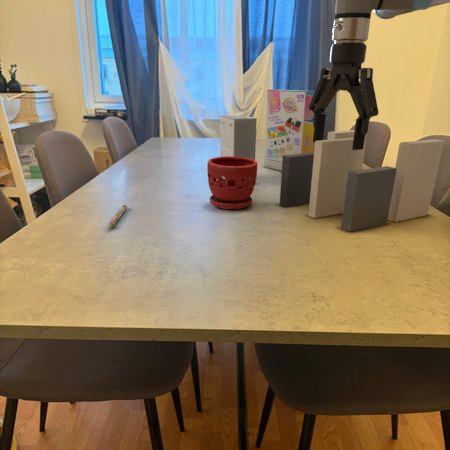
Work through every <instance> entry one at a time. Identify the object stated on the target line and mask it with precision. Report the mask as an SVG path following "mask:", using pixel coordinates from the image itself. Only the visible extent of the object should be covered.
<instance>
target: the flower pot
mask: <svg viewBox="0 0 450 450" xmlns="http://www.w3.org/2000/svg"><path fill="white" fill-rule="evenodd" d="M206 168H207V184H208V187H209V191H210V192H211V194H212V195H211V196H209V202H210V203H211V205H213V206H214V207H216V208H218V209H219V208H220V209H223V210H240V209H244V208H245V209H246V208H247V207H249V206H250V205H251V204H252V203H253V198H252V194H253V192H254V189H255V186H256V182H257V176H258V161H256V159H255V160H253V159H249V158H244V157H231V156H225V157H221V156H216V157H212V158H210V159H208V160H207V167H206ZM222 176H223V177H224V178H225V179H224V178H223V177H222ZM250 178H251V179H250Z"/></svg>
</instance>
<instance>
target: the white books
mask: <svg viewBox="0 0 450 450" xmlns="http://www.w3.org/2000/svg"><path fill="white" fill-rule="evenodd" d="M354 132H355V129H350V130H349V129H348V130H336V131H328V132H327V139H326V140H331V139H343V138H354ZM368 133H369V131H368V132H367V134H365V139H364V146H363V149H361V150H358V158H357V165H356V170H362V169H364V160H365V153H366V147H367V146H366V145H367V139H368ZM444 144H445V140H442V139H436V138H435V139H434V138H432V139H422V140H411V141H402V142H399V145H398V150H397V156H396V161H395V166H394V168H397V171H396V176H395V182H394V187H393V193H392V198H391V204H390V209H389V215H388V220H387V221H392V222H394V223H398V222H401V221H407V220H411V219H416V218H421V217H426V216H428V215H429V212H430V207H431V203H432V198H433V193H434V189H435V185H436V180H437V177H438V172H439V168H440V162H441V158H442V155H443V150H444Z"/></svg>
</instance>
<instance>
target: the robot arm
mask: <svg viewBox="0 0 450 450" xmlns="http://www.w3.org/2000/svg"><path fill="white" fill-rule="evenodd" d="M449 3H450V0H335V8H334V17H333V18H334V19H333V28H332V38H331V40H332V42H334V43H333V44H332V45H331V46H330V54H329V55H330V56H329V63H330V64H332V66H331V68H330V67H323V68H321V70H320V76H319V80H318V82H317V85H316V87H315V90H314V91H315V92H314V95H313V97H312V100H311V102H310V105H309V110H312V111H313V113H314V123H313V127H314V135H313V142H314V143H315V141H320V140H324V138H323V137H325V131H324V128H325V129H326V117H327V114H326V110H327V108H328V106H329V105H330V103H331V102H332V100H334V97H335V96H336V94H337V93H338V92H340V91H343V92H344V91H345V92H346V91H347V93H349V95H350V97H351V99H352V102H353V104H354V107H355V110H356V112H357V114H358V116H357V118H356V119H355V125H354V130H355V132H354V139H353V146H352V150H361V149H363V146H364V139H365V134H367V132H368V133H369V125H370V120H371V119H372V118H374V117H377V116H378V115H379V114H380V113H379V107H378V101H377V97H376V91H375V87H374V80H373V78H374V69H373V68H372V67H362V64H364V63H365V61H366V56H367V55H366V54H367V44H366V43H365V42H367V41H369V32H370V24H371V18H372V11H373V13H374V14H375V16H376V17H378V18H379V19H382V20H389V19H390V20H391V19H393V18H395V17H398V16H402V15H405V14H410V13H413V12H417V11H424V10H427V9H429V8H433V7H437V6H441V5H445V4H449ZM315 104H316V105H315ZM367 135H368V134H367Z"/></svg>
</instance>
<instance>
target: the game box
mask: <svg viewBox="0 0 450 450" xmlns="http://www.w3.org/2000/svg"><path fill="white" fill-rule="evenodd" d="M314 92H315V90H303V89H302V90H301V89H267V90H266V117H265V144H264V145H265V149H264V167H265V168H269V169H272V170H275V171H280V172H282V158H283V155H293V154H303V153H313V145H314V142H313V135H314V127H313V123H314V113H313V111H312V110H309V105H310V102H311V100H312V97H313V95H314ZM315 105H316V104H315Z"/></svg>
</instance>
